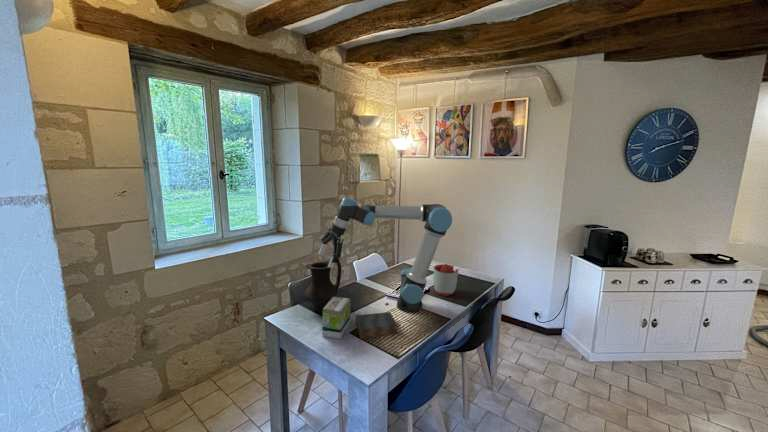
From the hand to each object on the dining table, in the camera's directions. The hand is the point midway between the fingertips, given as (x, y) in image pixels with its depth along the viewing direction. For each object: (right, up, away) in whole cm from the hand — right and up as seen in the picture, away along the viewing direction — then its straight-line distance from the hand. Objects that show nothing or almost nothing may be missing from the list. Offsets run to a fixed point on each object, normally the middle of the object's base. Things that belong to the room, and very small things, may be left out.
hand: (325, 260), depth 172 cm
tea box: (+8, -34, -10) cm, 36 cm away
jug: (-4, -29, +13) cm, 32 cm away
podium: (+28, -34, -7) cm, 44 cm away
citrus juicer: (+72, -27, +39) cm, 86 cm away
